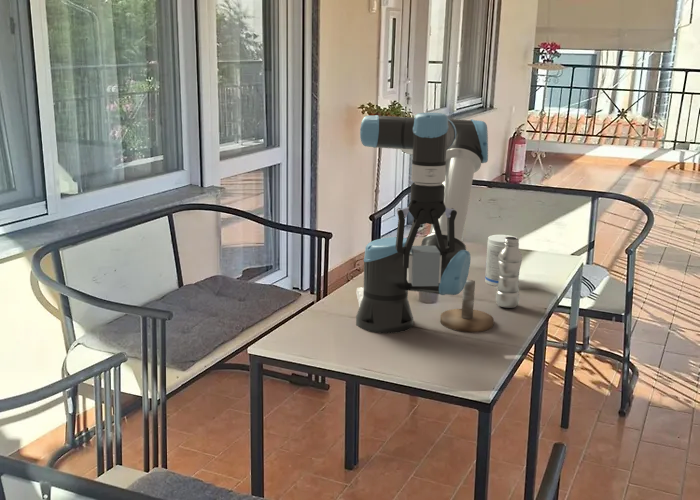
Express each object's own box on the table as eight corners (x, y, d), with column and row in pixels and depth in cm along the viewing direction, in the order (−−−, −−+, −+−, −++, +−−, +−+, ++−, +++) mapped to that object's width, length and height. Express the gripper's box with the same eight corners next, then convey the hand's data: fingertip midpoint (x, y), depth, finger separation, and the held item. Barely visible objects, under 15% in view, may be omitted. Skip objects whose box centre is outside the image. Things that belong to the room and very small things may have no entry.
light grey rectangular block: (412, 286, 180) (413, 252, 178) (408, 278, 186) (410, 245, 184) (438, 286, 181) (440, 252, 179) (434, 278, 187) (435, 245, 184)
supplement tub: (489, 277, 251) (493, 232, 248) (519, 282, 247) (523, 236, 244) (480, 285, 243) (483, 239, 239) (510, 290, 239) (514, 243, 235)
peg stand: (445, 332, 203) (447, 289, 200) (436, 313, 216) (438, 273, 213) (499, 331, 204) (502, 289, 201) (486, 313, 217) (489, 273, 214)
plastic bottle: (518, 311, 220) (524, 241, 215) (494, 309, 221) (499, 240, 216) (518, 304, 226) (524, 236, 221) (494, 302, 227) (499, 234, 222)
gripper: (387, 185, 173) (384, 286, 179) (473, 186, 174) (467, 286, 180) (384, 179, 180) (381, 276, 186) (466, 180, 182) (460, 276, 188)
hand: (423, 281), depth 183 cm, fingers closed on light grey rectangular block, 6 cm apart
